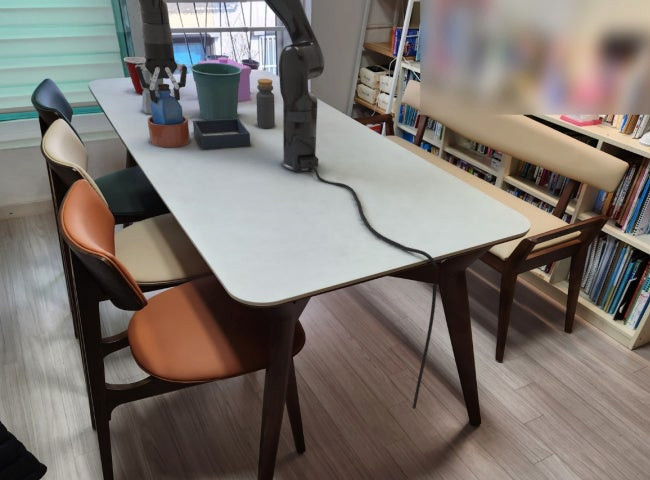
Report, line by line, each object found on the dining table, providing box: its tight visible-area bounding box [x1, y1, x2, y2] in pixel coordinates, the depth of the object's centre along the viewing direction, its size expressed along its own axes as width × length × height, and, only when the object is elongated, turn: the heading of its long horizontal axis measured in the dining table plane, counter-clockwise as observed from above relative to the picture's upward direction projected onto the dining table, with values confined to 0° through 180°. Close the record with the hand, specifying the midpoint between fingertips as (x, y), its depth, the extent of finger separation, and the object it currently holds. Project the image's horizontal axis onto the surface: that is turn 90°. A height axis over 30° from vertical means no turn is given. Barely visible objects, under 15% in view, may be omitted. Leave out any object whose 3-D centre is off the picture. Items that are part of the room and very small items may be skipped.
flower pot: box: [189, 62, 242, 120], centre depth 178 cm, size 16×16×16 cm
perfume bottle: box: [151, 83, 184, 125], centre depth 154 cm, size 6×6×12 cm
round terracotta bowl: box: [146, 115, 191, 148], centre depth 158 cm, size 11×11×6 cm
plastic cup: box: [123, 56, 146, 95], centre depth 194 cm, size 11×11×12 cm
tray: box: [192, 117, 251, 150], centre depth 163 cm, size 14×14×4 cm
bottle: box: [255, 78, 276, 130], centre depth 174 cm, size 6×6×15 cm
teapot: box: [187, 56, 252, 102], centre depth 197 cm, size 15×25×14 cm, turn 131°
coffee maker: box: [139, 55, 164, 116], centre depth 176 cm, size 15×9×18 cm, turn 42°
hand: (165, 101), depth 153 cm, fingers closed on perfume bottle, 5 cm apart
